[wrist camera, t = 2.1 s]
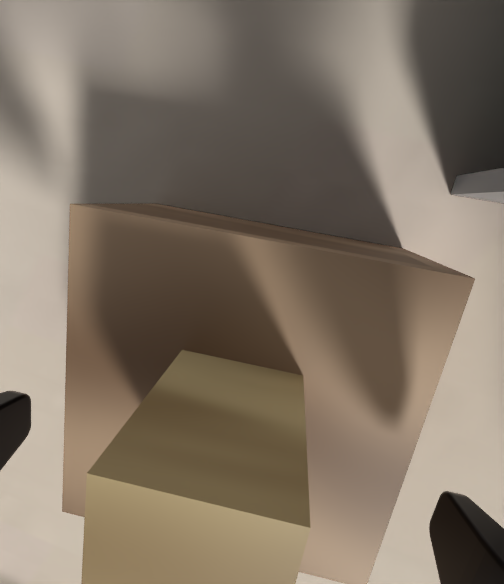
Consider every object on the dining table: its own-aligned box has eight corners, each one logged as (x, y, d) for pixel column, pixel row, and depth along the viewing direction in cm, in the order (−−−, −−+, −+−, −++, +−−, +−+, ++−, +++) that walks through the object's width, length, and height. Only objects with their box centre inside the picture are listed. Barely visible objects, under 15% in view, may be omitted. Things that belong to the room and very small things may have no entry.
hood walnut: (341, 459, 14) (412, 848, 6) (136, 412, 15) (-78, 697, 6) (402, 248, 12) (681, 366, 3) (155, 203, 13) (-148, 204, 4)
